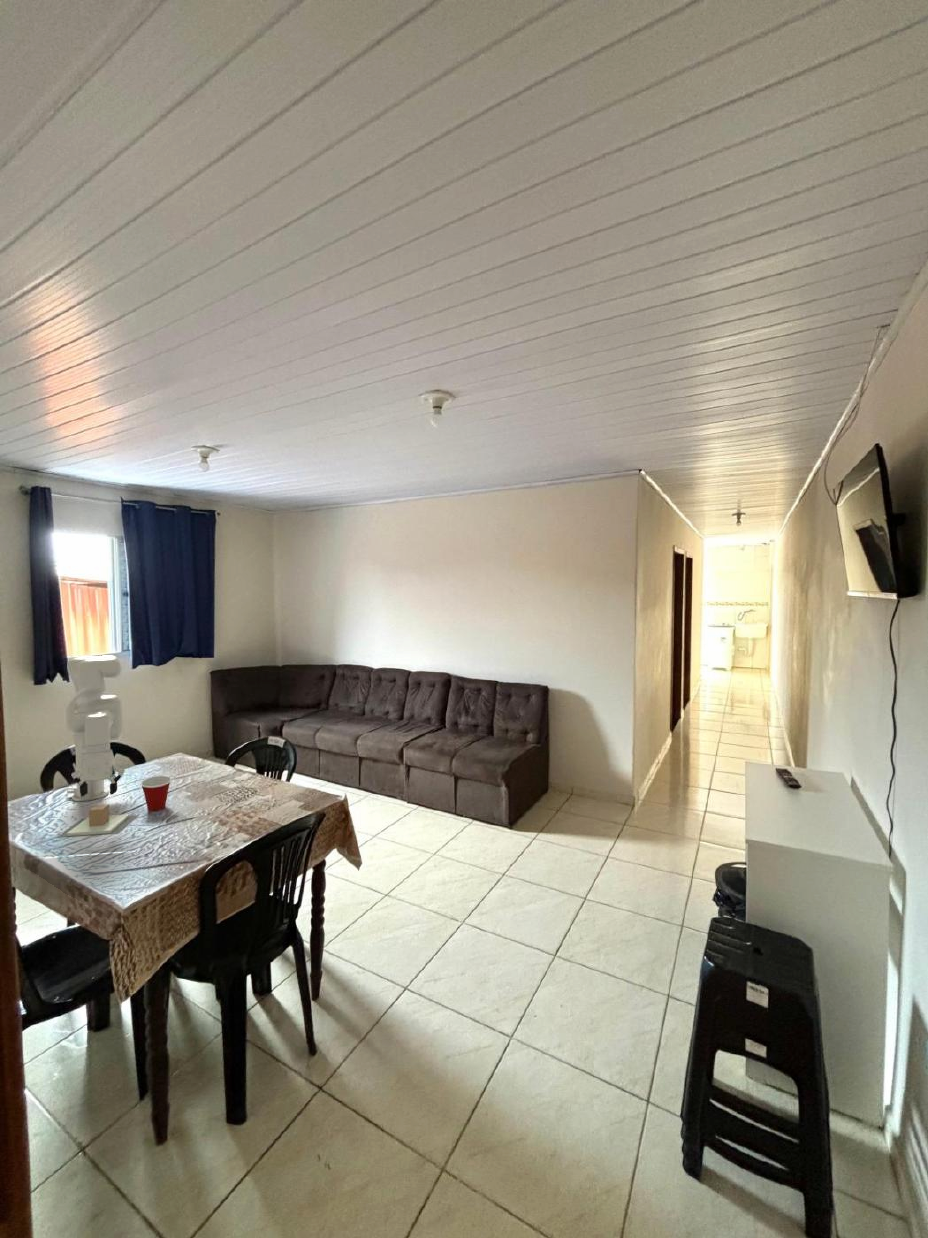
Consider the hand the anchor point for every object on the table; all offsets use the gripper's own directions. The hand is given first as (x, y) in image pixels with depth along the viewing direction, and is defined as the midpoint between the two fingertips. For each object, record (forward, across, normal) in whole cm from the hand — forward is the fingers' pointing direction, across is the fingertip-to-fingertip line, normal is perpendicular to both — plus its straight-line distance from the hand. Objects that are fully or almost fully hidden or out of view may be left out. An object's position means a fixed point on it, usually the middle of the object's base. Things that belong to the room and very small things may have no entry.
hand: (98, 794), depth 188 cm
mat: (+12, 0, +1) cm, 13 cm away
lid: (+12, 0, +1) cm, 12 cm away
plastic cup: (+13, +14, +15) cm, 24 cm away
